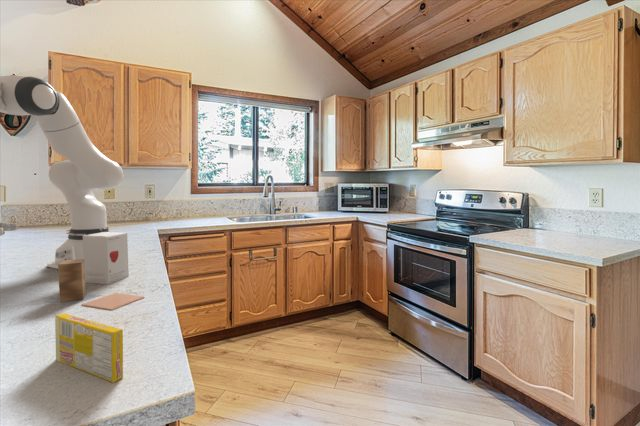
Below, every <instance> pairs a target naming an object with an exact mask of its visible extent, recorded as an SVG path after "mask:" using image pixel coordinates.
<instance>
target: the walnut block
mask: <svg viewBox="0 0 640 426" xmlns="http://www.w3.org/2000/svg"><path fill="white" fill-rule="evenodd" d="M57 274H58V287H59V288H58V289H59V290H58V291H59V297H60V303H62V302H70V301H79V300H83V299H84V297H85V296H86V293H87V291H86V290H87V287H86V282H85V264H84V259H76V260H62V261H61V262H60V263H59V264H58V269H57Z"/></svg>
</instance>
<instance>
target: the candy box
mask: <svg viewBox="0 0 640 426" xmlns="http://www.w3.org/2000/svg"><path fill="white" fill-rule="evenodd" d="M54 325H55V328H54V329H55V331H54V333H55V335H54V336H55V361H58V362H60V363H62V364H65V365H67V366H70V367H73V368H75V369H78V370H80V371H83V372H85V373H88V374H90V375H93V376H95V377H98V378H101V379H103V380H105V381H108V382H111V383H112V384H114V383H116V382H118V381H120V380H121V379H123V378H124V340H123V339H124V334H123V333H124V332H123V331H124V330H123V329H121V328H118V327H115V326H111V325H106V324H103V323H100V322H98V321H97V322H96V321H93V320H89V319H86V318H84V317H79V316H75V315H72V314H69V313H64V312H63V313H61V314H56V315H55V316H54Z"/></svg>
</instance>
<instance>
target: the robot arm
mask: <svg viewBox="0 0 640 426" xmlns="http://www.w3.org/2000/svg"><path fill="white" fill-rule="evenodd" d="M2 114H3V115H12V116H21V117H22V116H33V117H34V118H35V119H36V120H37V122H38V125H39V127H40V128H41V130H42V132H43V134H44V135H45V138H46V139H47V141H48V143H49V145H50V147H51V149H52V150H53V151H54V152H55V153H56V154H58V155H59V156H61V157H63V158H65V160H61V161H60V160H59V161H57V162H53V164H51V166H50V168H49V169H48V178H49V181H50V182H51V184H52V185H53V186H55V187H56V189H59V191H60V192H61V193H62V194H63V196H64V198H65V199H66V203H67V204H68V207H69V208H68V209H69V214H70V227H71V228H69V230H66V235H68V236H67V240H66V241H65V242H64V243H62V244H61V245H60V246H59V247H57V248H56V250H55V252H54V261H51V262H49V263H47V264H46V266H47V267H49V268H52V269H55V270H58V264H59V263H60V262H61V261H62V260H76V259H83V235H89V234H95V233H101V232H110V230H109V226H108V222H107V221H108V219H107V217H108V216H107V207H106V206H105V204H104V203H103V202H102V201H100V200H98V199H97V198H96V196H95V193H94V192H93V191H108V190H113V189H117V188H119V187H121V185H122V184H123V182H124V179H125V178H124V177H125V176H124V170H123V168H122V167H121V165H120V164H119V163H118V162H116V161H114V160H112V159H110V158H108V157H107V156H106V155H105V154H103V153H102V152H101V151H100V150H99V149H98V148H97V147H96V146H95V145H94V144H93V142H92V141H91V139H90V138H89V136H88V134H87V132H86V130H85V128H84V126H83V124H82V123H81V120H80V118H79V116H78V115H77V112H76V111H75V109H74V107H73V106H72V104H71V102H70V101H69V100H68V98H67V97H66V96H65V95H64V94H63V93H62V92H61V91H59V90H56V89H55V88H54V87H53V86H52V85H51V84H50V83H49V82H47V81H46V80H44V79H41V78H38V77H34V76H23V75H15V74H14V75H13V74H11V75H0V115H2ZM16 230H18V223H17V222H14V223H10V222H9V223H8V222H0V237H1V236H4V235H5V233H6V232H11V231H13V232H14V231H16Z"/></svg>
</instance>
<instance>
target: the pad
mask: <svg viewBox="0 0 640 426" xmlns="http://www.w3.org/2000/svg"><path fill="white" fill-rule="evenodd" d="M144 298H145V296H141V295H134V294H127V293H122V292H114V293H111V294H108V295H105V296H102V297H99V298H96V299H93V300H91V301H88V302H85V303H82V304H81V306H84V307H89V308H95V309H101V310H108V311H114V310H117V309H119V308H121V307H125V306H127V305H130V304H133V303H135V302H137V301H140V300H143V299H144Z"/></svg>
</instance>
